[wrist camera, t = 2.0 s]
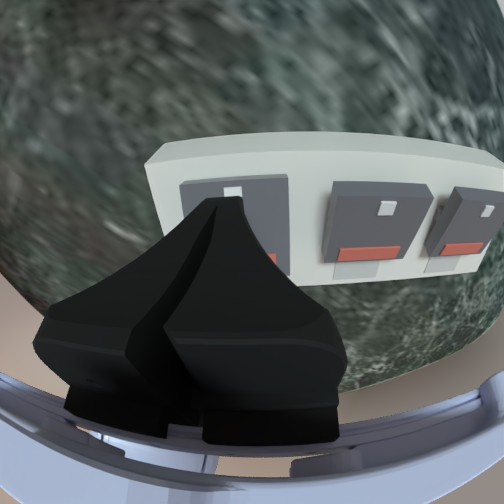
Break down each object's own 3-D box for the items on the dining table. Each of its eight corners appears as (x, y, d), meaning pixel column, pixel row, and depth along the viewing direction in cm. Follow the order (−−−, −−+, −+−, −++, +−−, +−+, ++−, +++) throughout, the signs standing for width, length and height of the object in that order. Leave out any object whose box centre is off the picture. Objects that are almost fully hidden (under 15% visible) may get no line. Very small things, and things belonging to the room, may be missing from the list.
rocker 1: (288, 265, 15) (290, 276, 14) (198, 269, 15) (193, 280, 14) (286, 173, 13) (288, 177, 12) (185, 180, 13) (178, 185, 12)
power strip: (457, 244, 20) (478, 275, 16) (191, 255, 21) (180, 294, 18) (486, 151, 14) (519, 175, 11) (164, 143, 15) (140, 168, 12)
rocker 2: (398, 245, 15) (403, 260, 15) (321, 248, 16) (324, 264, 15) (425, 183, 11) (435, 199, 11) (332, 180, 12) (338, 198, 11)
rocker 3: (474, 241, 15) (481, 255, 14) (423, 243, 15) (429, 258, 15) (506, 191, 11) (515, 205, 10) (454, 185, 11) (463, 201, 11)
